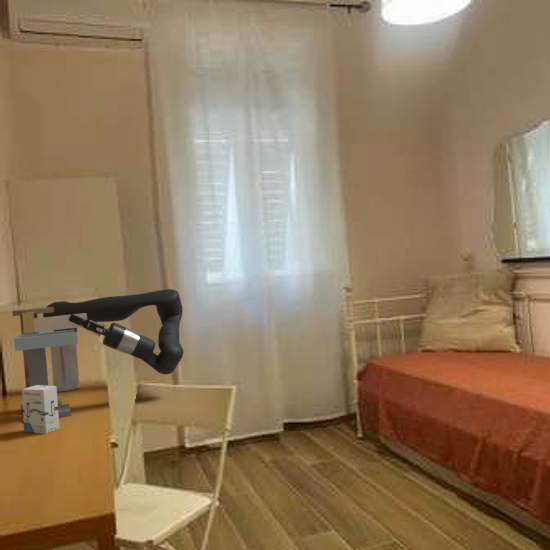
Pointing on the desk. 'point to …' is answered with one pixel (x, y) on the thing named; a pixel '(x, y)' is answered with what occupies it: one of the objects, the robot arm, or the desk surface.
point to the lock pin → (48, 322)
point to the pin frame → (44, 356)
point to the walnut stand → (35, 311)
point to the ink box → (40, 409)
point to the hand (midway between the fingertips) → (69, 317)
